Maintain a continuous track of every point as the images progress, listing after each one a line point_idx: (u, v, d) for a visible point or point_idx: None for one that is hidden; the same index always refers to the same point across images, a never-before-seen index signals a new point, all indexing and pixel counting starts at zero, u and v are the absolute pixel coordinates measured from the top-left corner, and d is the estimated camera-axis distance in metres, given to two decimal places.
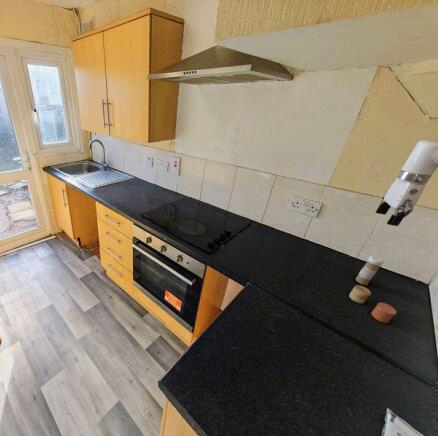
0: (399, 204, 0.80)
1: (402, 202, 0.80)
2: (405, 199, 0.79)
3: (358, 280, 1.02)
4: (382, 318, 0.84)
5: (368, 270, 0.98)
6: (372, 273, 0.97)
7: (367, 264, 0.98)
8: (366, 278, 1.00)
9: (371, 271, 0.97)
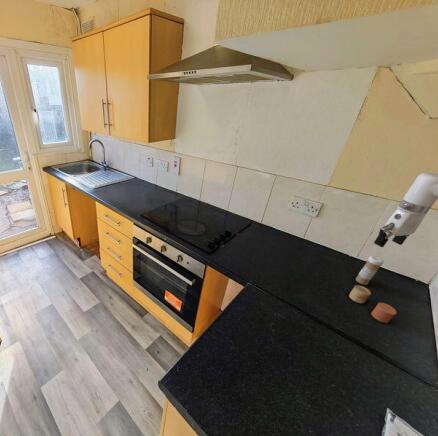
0: (385, 225, 0.88)
1: (387, 224, 0.88)
2: (390, 222, 0.87)
3: (358, 280, 1.02)
4: (382, 318, 0.84)
5: (368, 270, 0.98)
6: (372, 273, 0.97)
7: (367, 264, 0.98)
8: (366, 278, 1.00)
9: (371, 271, 0.97)
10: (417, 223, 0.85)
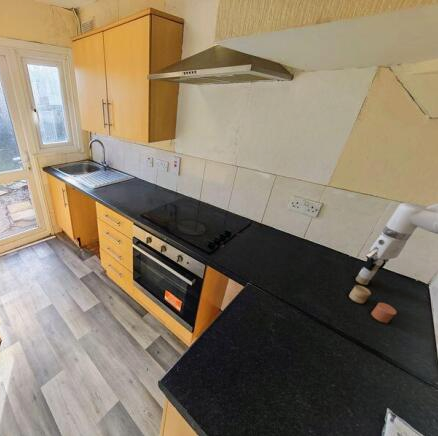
0: (370, 250, 0.94)
1: (372, 248, 0.93)
2: (374, 246, 0.92)
3: (358, 280, 1.02)
4: (382, 318, 0.84)
5: (368, 270, 0.98)
6: (372, 273, 0.97)
7: None
8: (366, 278, 1.00)
9: (371, 271, 0.97)
10: (400, 248, 0.90)
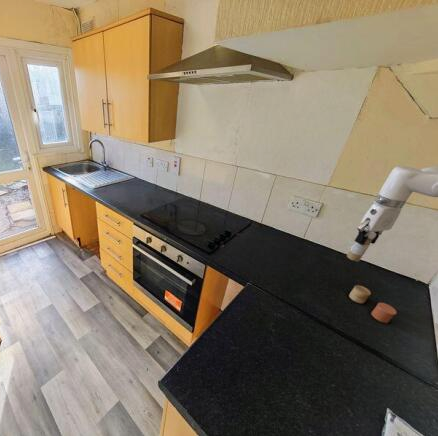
0: (361, 221, 0.87)
1: (364, 220, 0.86)
2: (366, 217, 0.85)
3: (349, 256, 0.95)
4: (382, 318, 0.84)
5: (359, 245, 0.91)
6: (364, 247, 0.90)
7: None
8: (357, 254, 0.92)
9: (362, 245, 0.90)
10: (393, 218, 0.83)
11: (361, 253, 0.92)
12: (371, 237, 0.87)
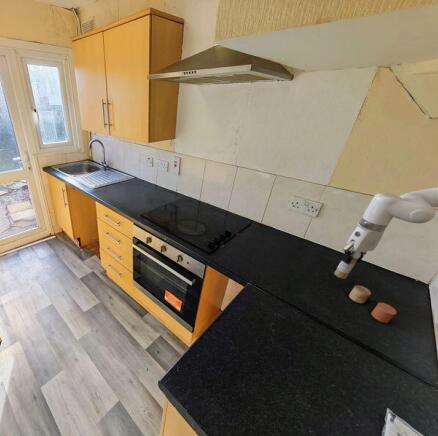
0: (347, 242, 0.91)
1: (349, 241, 0.91)
2: (351, 239, 0.90)
3: (336, 274, 1.00)
4: (382, 318, 0.84)
5: (345, 264, 0.96)
6: (350, 266, 0.95)
7: None
8: (344, 272, 0.97)
9: (348, 264, 0.95)
10: (376, 240, 0.88)
11: (347, 271, 0.96)
12: (356, 257, 0.92)
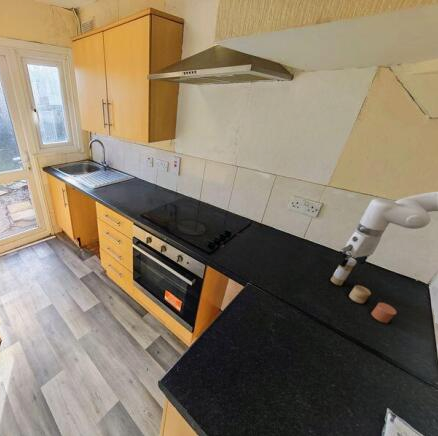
0: (345, 247, 0.92)
1: None
2: (349, 244, 0.91)
3: (333, 280, 1.01)
4: (382, 318, 0.84)
5: (341, 271, 0.97)
6: (346, 273, 0.97)
7: None
8: (340, 279, 0.99)
9: (344, 271, 0.97)
10: (374, 245, 0.89)
11: (343, 278, 0.98)
12: (352, 264, 0.94)
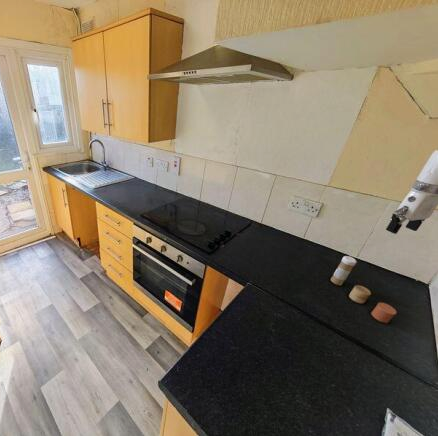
0: (397, 210, 0.81)
1: None
2: (403, 205, 0.79)
3: (333, 280, 1.01)
4: (382, 318, 0.84)
5: (341, 271, 0.97)
6: (346, 273, 0.97)
7: (341, 264, 0.98)
8: (340, 279, 0.99)
9: (344, 271, 0.97)
10: (433, 205, 0.77)
11: (343, 278, 0.98)
12: (352, 264, 0.94)
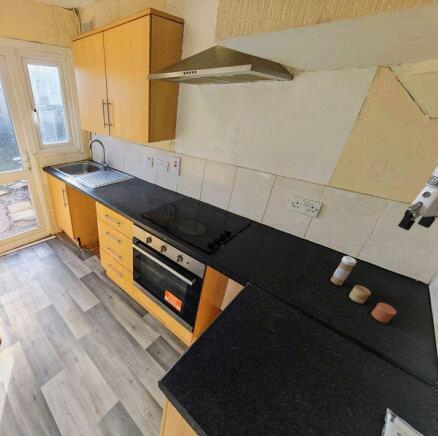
0: (411, 206, 0.79)
1: (414, 204, 0.78)
2: (417, 201, 0.77)
3: (333, 280, 1.01)
4: (382, 318, 0.84)
5: (341, 271, 0.97)
6: (346, 273, 0.97)
7: (341, 264, 0.98)
8: (340, 279, 0.99)
9: (344, 271, 0.97)
10: None
11: (343, 278, 0.98)
12: (352, 264, 0.94)
